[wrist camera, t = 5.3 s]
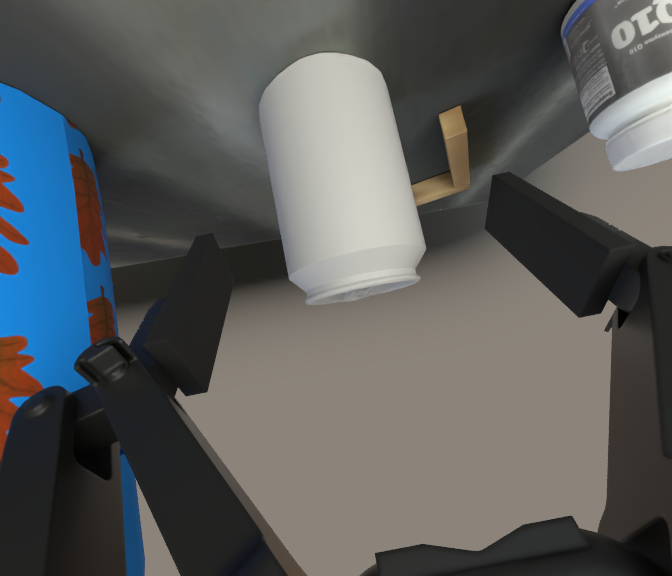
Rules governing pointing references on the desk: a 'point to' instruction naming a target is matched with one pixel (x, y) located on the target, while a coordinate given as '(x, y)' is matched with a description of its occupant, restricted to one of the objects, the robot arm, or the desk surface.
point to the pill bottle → (624, 75)
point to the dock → (457, 161)
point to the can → (339, 180)
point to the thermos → (53, 269)
